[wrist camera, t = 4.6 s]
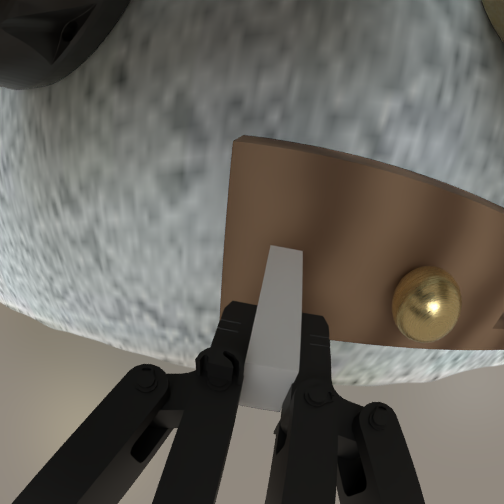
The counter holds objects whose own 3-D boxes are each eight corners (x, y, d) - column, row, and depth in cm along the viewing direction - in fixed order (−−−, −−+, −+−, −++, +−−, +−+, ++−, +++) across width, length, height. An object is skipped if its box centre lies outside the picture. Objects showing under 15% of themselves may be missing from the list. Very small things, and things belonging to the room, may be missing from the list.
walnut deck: (228, 296, 19) (219, 320, 17) (243, 135, 14) (233, 141, 12) (523, 332, 17) (532, 348, 15) (571, 246, 11) (584, 260, 9)
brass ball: (374, 303, 15) (387, 357, 11) (400, 244, 13) (426, 293, 9) (427, 311, 14) (446, 359, 11) (455, 258, 12) (486, 303, 9)
